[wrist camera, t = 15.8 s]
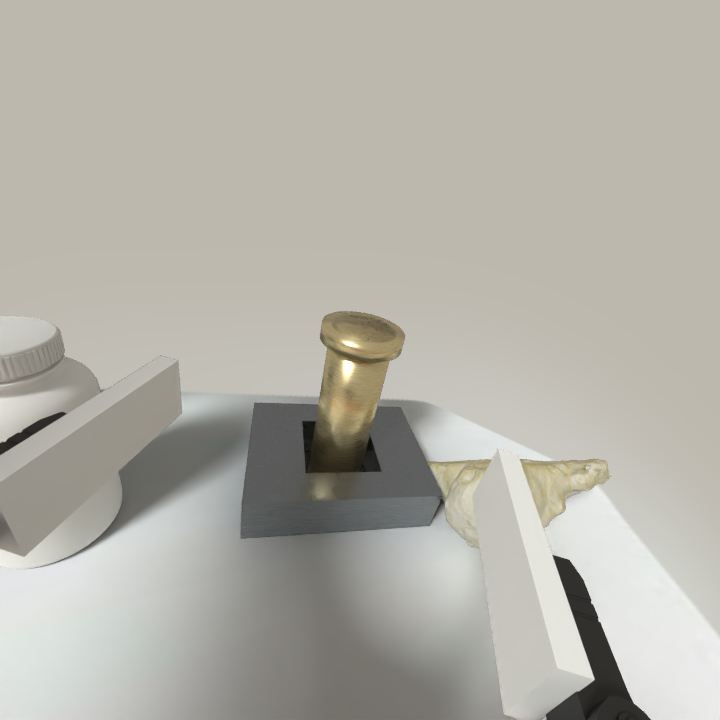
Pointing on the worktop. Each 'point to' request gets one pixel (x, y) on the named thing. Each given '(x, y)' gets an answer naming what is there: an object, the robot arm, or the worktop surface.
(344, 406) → the brass flanged peg
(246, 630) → the worktop surface
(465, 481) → the beige rock
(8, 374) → the pill bottle
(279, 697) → the worktop surface
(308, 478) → the block
